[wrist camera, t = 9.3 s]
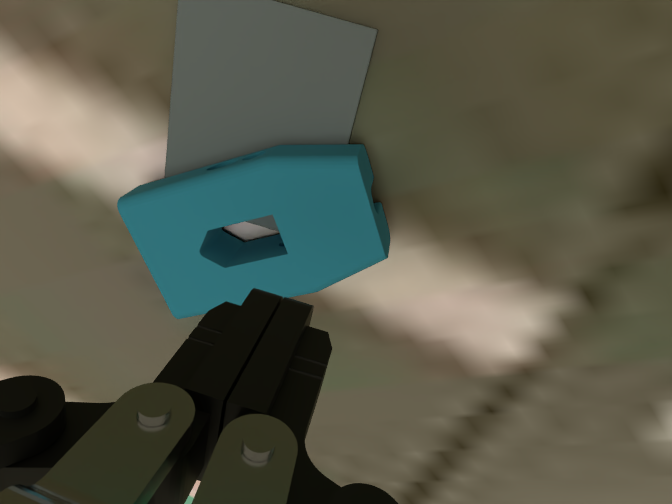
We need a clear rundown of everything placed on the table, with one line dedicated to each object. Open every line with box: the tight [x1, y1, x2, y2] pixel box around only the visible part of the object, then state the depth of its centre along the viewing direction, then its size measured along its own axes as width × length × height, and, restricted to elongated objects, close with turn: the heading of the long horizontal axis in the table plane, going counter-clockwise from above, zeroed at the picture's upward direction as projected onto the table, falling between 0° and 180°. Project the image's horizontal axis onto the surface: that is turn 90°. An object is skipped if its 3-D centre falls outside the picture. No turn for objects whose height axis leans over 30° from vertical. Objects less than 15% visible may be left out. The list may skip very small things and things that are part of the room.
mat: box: [165, 0, 378, 231], centre depth 40 cm, size 15×18×1 cm
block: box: [117, 144, 390, 319], centre depth 41 cm, size 12×5×20 cm
